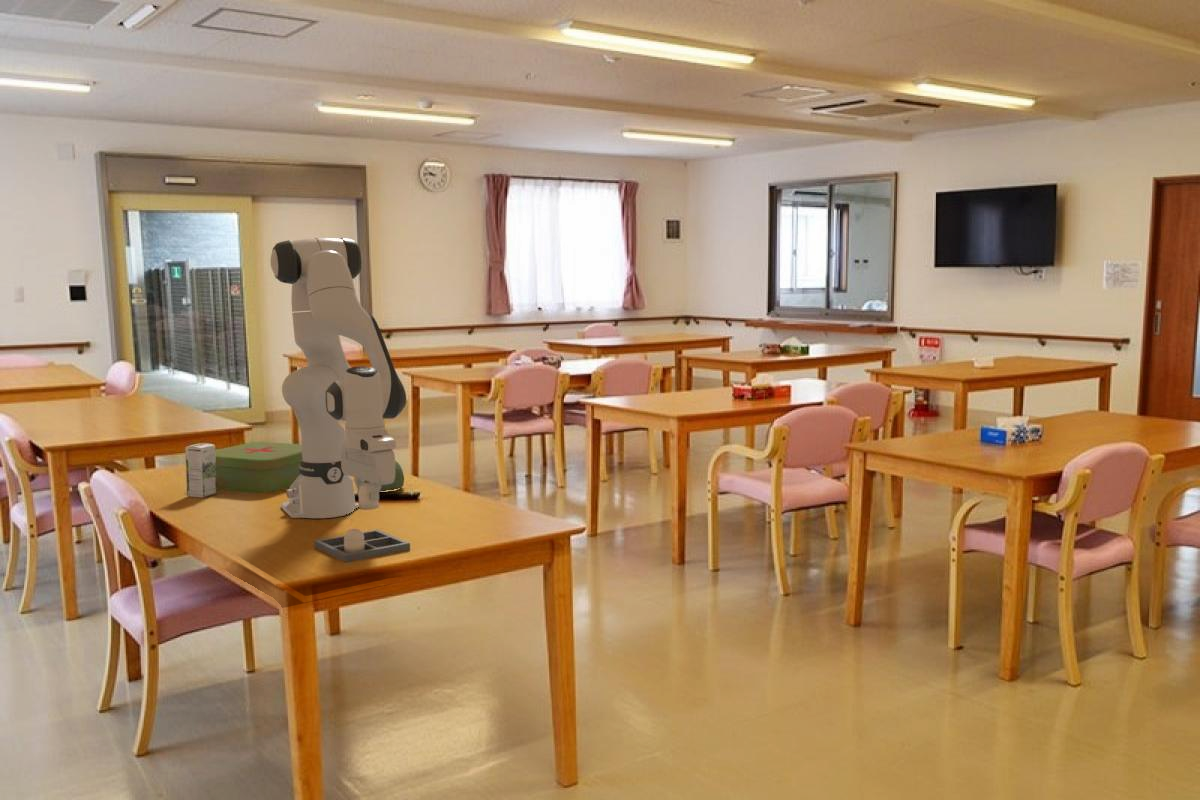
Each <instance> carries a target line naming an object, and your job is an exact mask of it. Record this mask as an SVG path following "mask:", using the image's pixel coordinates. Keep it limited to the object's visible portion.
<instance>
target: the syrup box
mask: <svg viewBox="0 0 1200 800" xmlns="http://www.w3.org/2000/svg"><path fill="white" fill-rule="evenodd" d="M184 448H185V471H186V472H185V473H186V497H188V498H189V497H190V498H200V499H201V498H203V499H204V498H207V497H211V496H213V495H217V494H218V493H217V491H218V489H217V483H216V454H215V450H216V445H215V444H212V443H206V442H203V443H195V444H191V445H187V446H185V447H184Z"/></svg>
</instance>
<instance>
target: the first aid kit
mask: <svg viewBox="0 0 1200 800" xmlns="http://www.w3.org/2000/svg"><path fill="white" fill-rule="evenodd" d="M215 454H216V483H217V490H223V491H233V492H234V491H235V492H244V493H245V492H246V493H255V494H256V493H257V494H270V493H276V492H279V491H282V490H283V491H284V490H287V489H290V486H291V484H292V483H293V482H294V481H295V480H296V479H297V477H298V476H299V475H300V473H299V470H300V468H299V467H300V463H301V462H300V461H301V460H302V446H301V444H298V443H297V444H296V443H287V442H285V443H283V442H282V443H281V442H270V441H253V442H248V443H243V444H237V445H234V446H233V445H232V446H229V447H225V448H221V449H220V448H219V449H215Z"/></svg>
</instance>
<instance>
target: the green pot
mask: <svg viewBox="0 0 1200 800" xmlns="http://www.w3.org/2000/svg"><path fill="white" fill-rule="evenodd" d="M364 482H365V483H368V482H369V481H364ZM369 483H370V482H369ZM404 483H405V475H404V471H403V468H402V466H401V464H400V463H399V462H398V461H397V460H395V480H394V482H393V483H392V484H386V485H382V486H381V489H380V491H386V490H394V489H398V488H401V487H402V486H403V487H404V485H405V484H404ZM403 487H402V488H403ZM402 488H401V489H402Z"/></svg>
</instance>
